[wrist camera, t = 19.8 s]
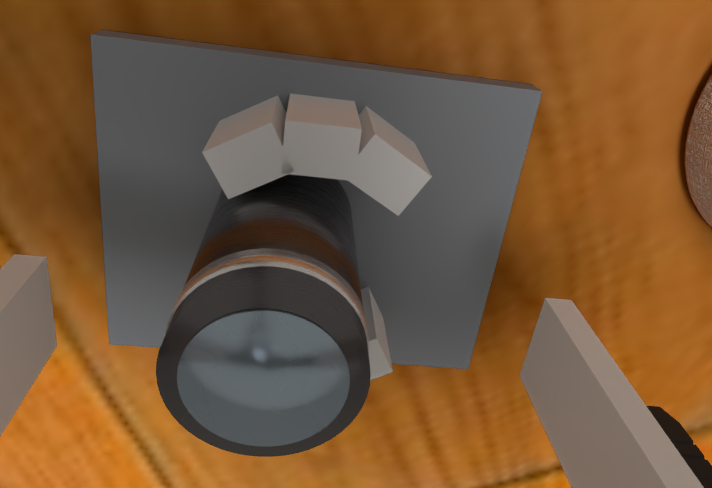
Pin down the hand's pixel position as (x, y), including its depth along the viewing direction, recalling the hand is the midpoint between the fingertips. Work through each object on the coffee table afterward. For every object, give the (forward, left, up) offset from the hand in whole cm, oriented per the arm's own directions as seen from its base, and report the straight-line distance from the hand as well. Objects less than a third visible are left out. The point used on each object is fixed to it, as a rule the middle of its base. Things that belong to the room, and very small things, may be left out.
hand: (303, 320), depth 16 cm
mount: (0, 0, -8) cm, 8 cm away
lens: (0, -1, -7) cm, 7 cm away
